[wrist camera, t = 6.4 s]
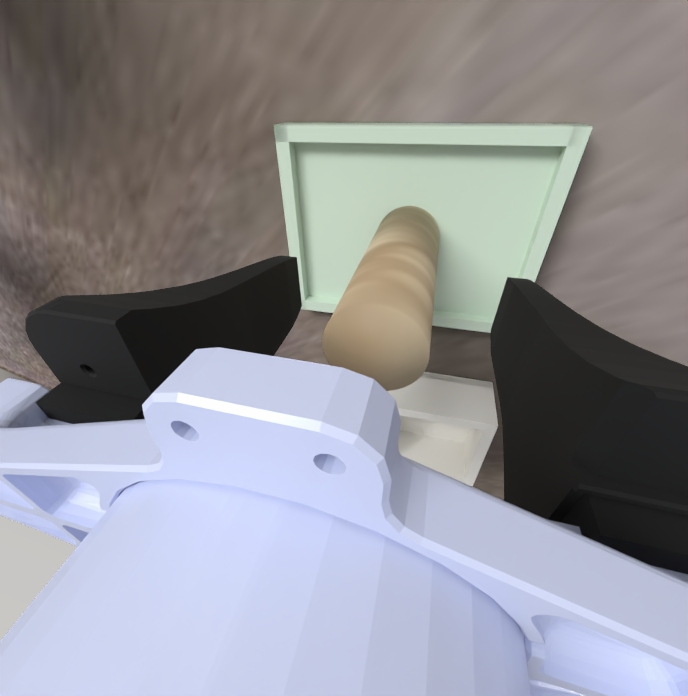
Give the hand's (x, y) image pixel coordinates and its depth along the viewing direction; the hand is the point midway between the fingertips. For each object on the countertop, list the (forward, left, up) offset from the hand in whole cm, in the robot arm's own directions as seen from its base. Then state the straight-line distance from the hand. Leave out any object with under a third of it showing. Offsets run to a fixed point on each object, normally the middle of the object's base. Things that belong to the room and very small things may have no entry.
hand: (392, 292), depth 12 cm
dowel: (0, 0, -6) cm, 6 cm away
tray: (0, 0, -6) cm, 6 cm away
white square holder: (-3, +12, -6) cm, 14 cm away
